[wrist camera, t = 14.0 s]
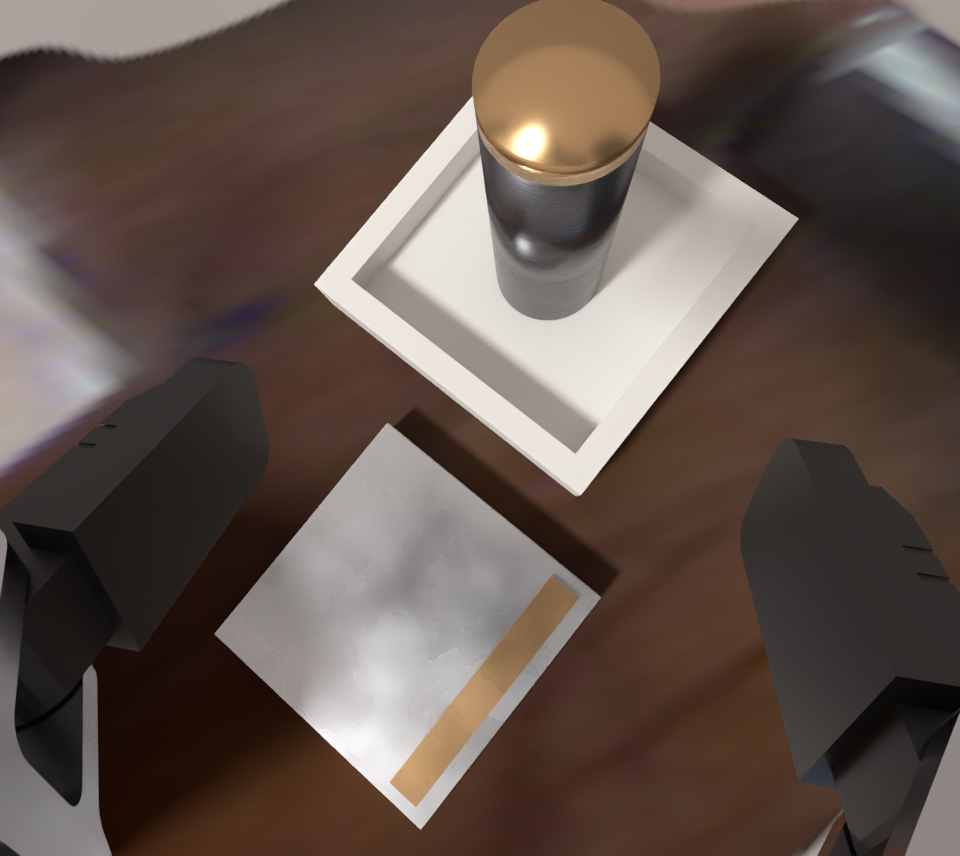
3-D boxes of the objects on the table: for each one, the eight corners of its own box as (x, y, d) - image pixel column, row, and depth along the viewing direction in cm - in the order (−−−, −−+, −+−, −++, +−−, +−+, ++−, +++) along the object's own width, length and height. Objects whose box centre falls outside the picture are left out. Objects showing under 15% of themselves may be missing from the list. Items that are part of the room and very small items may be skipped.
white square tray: (333, 304, 24) (313, 284, 21) (522, 79, 24) (521, 37, 22) (575, 496, 22) (580, 495, 20) (772, 246, 22) (798, 218, 20)
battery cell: (475, 279, 22) (434, 97, 13) (540, 202, 23) (549, -36, 13) (556, 341, 22) (581, 200, 12) (622, 260, 22) (699, 58, 12)
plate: (228, 628, 22) (212, 634, 21) (393, 426, 23) (386, 422, 22) (425, 814, 21) (420, 832, 20) (597, 593, 21) (601, 598, 20)
